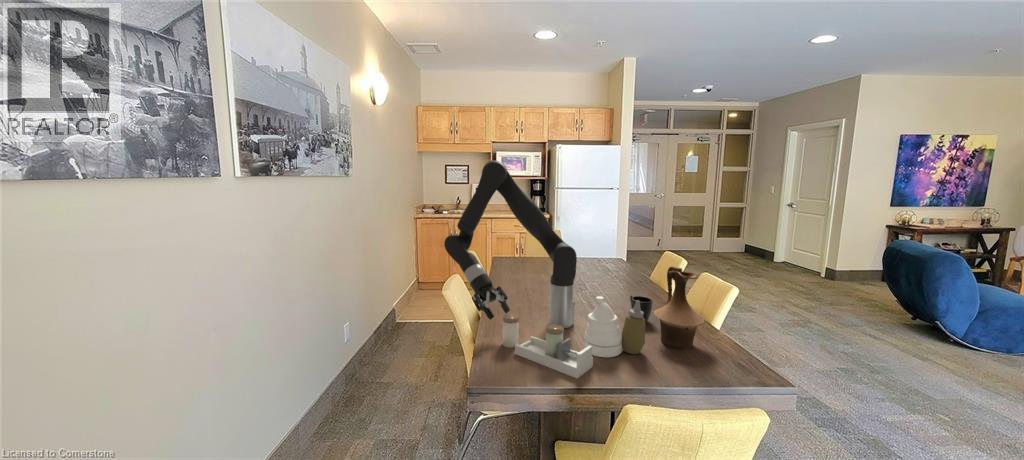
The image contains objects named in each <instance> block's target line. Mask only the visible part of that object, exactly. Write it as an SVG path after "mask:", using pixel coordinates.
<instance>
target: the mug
mask: <svg viewBox="0 0 1024 460" xmlns="http://www.w3.org/2000/svg"><path fill="white" fill-rule="evenodd" d="M629 300H630V306H631V307H630V308H631V309H633V308H634V305H635V303H636V301H640V308H641V311H643V313H644V315H643V318H644V319H645V320H646V321H645V324H647V323H648V322H649V321H648V320H649V318H650V316H651V314H652V309H653V308H652V307H653V299H652V298H650V297H648V296H641V295H633V294H631V295H630V298H629ZM646 322H647V323H646Z"/></svg>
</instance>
